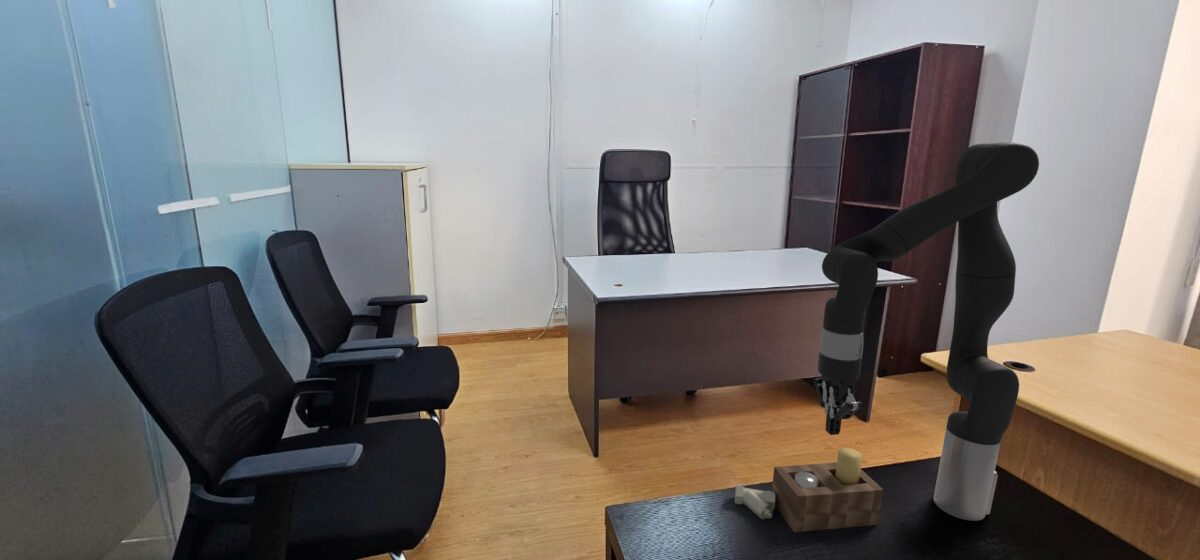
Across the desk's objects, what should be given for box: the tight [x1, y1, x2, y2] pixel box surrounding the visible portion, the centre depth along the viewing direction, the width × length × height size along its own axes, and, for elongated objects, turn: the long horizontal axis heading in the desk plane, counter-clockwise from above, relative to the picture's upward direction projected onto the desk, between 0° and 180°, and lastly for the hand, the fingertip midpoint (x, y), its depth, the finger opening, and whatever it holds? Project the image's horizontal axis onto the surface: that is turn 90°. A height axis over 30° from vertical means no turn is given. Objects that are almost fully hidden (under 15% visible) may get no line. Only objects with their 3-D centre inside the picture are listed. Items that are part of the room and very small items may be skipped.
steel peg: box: [795, 472, 818, 488], centre depth 107 cm, size 4×4×8 cm
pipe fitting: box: [734, 484, 776, 520], centre depth 108 cm, size 8×4×7 cm
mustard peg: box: [835, 447, 863, 485], centre depth 107 cm, size 4×4×8 cm
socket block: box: [771, 461, 884, 533], centre depth 107 cm, size 18×10×8 cm, turn 98°
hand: (832, 432), depth 104 cm, fingers closed
